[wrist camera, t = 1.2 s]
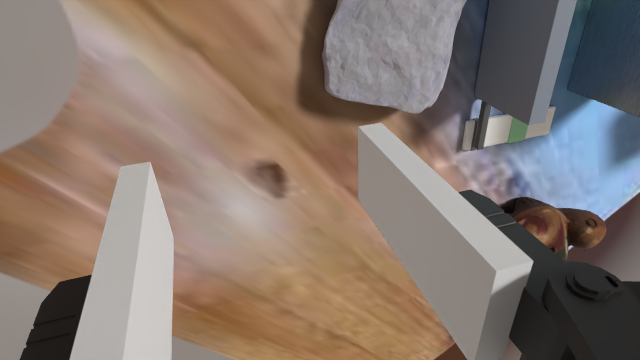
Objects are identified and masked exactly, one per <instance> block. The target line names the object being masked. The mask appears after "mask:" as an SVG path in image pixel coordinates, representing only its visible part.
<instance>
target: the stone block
mask: <svg viewBox="0 0 640 360" xmlns="http://www.w3.org/2000/svg"><path fill="white" fill-rule="evenodd" d="M466 1H467V0H338V2H337V7H336V10H335V12H334V14H333V17H332V18H331V20H330V23H329V27H328V30H327V33H326V36H325V40H324V48H323V53H322V58H323V65H324V70H325V73H324V75H325V77H324V81H325V83H324V86H325V89H326V91H327V92H328V93H329V94H330V95H332V96H334V97H337V98H340V99H343V100H346V101H353V102H359V103H364V104H370V105H377V106H388V107H392V108H395V109H399V110H402V111H404V112H407V113H420V112H422V111H423V110H424V109H425V108H428V107H431V106H432V105H433V103H434V102H436V100H437V98H438V96H439V93H440V91H441V90H442V88H443V85H444V82H445V79H446V75H447V70H448V68H449V63H450V58H451V54H452V46H453V39H454V34H455V29H456V26H457V23H458V21H459V19H460V16H461V12H462V8H463V6H464V5H465V3H466Z"/></svg>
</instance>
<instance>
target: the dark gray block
mask: <svg viewBox="0 0 640 360" xmlns="http://www.w3.org/2000/svg"><path fill="white" fill-rule="evenodd" d="M567 90H570V91H572V92H575V93H578V94H580V95H583V96H585V97H588V98H591V99H593V100H596V101H598V102H601V103H604V104H606V105H609V106H611V107H614V108H617V109H619V110H622V111H624V112H627V113H630V114H632V115H635V116H637V117H640V0H592V4H591V7H590V11H589V14H588V18H587V21H586V25H585V28H584V32H583V36H582V39H581V43H580V46H579V50H578V53H577V57H576V60H575V64H574V67H573V71H572V74H571V78H570V81H569V85H568V88H567Z"/></svg>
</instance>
